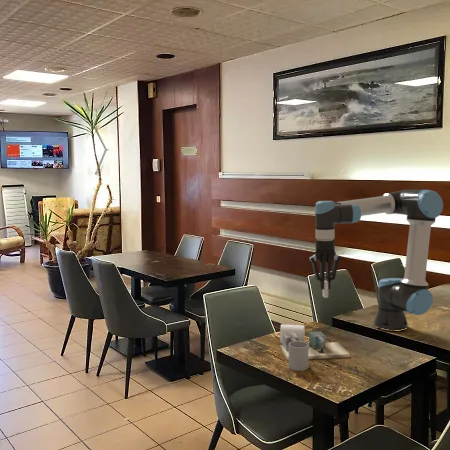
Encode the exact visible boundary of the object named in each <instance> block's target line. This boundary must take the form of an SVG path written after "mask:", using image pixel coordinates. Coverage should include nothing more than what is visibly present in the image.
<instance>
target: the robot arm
mask: <svg viewBox="0 0 450 450" xmlns="http://www.w3.org/2000/svg"><path fill="white" fill-rule="evenodd" d="M314 208H315V209H314V210H315V212H314V214H315V220H314V221H315V239H316V240H315V252H314V254H313V255H312V256H309V258H308V259H309V261H310V262H311V265H312V269H313V274H314V278H315V279H316V281H319V282H320V284H319V287H320V290H322V297H323V298H325V299H328V298H329V290H330V289H331V282H332V281H333V280H335V279H336V276H337V272H338V268H339V267H338V266H339V264H340V260H341V259H342V256H341V255H338V254H337V253H336V249H335V248H336V247H335V246H336V245H335V244H336V243H335V240H334V239H336V238H335V235H336V234H335V233H336V232H335V229H336V227H335V225H339V224H353V223H357V222H359V221H360V220H361V217H364V216H371V215H376V214H377V215H378V214H386V215H393V214H394V215H396V214H397V215H404V216H406V221H407V222H408V224H409V229H408V239H407V247H406V249H407V250H406V257H405V258H406V259H405V267H404V276H403V278H400V277H389V278H388V277H387V278H381V279H380V280H379V281H378V286H377V311H376V314H375V316H374V319H373V326H374V325H375V326H377V327H379V328H384V329H389V330H401V329H405V328H407V327H408V326H409V323H408V320H407V317H406V314H405V312H407V313H408V314H413V315H416V316H421V315H423V314H426V313H427V312H428V311H429V310H430V309H431V308H432V305H433V302H434V296H433V294H432V292H431V291H430V290H429V283H428V282H427V281H426V275H427V268H428V267H427V266H428V256H429V247H430V246H429V245H430V240H431V239H430V237H431V229H432V225H433V224H435V223H436V218H438V217H440V215H441V214H442V213H443V208H444V202H443V199H442V197H441V196H440V194H439V193H438V192H437V191H434V190H430V189H403V190H398V191H393V192H387V193H383V195H381V196H375V197H366V198H360V199H359V198H358V199H351V200H344V201H336V202H334V201H333V200H319V201H317V202H316V203H315V206H314ZM317 260H318V262H319V268H318V264H317ZM332 261H333V263H332ZM331 266H332V267H331Z"/></svg>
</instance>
